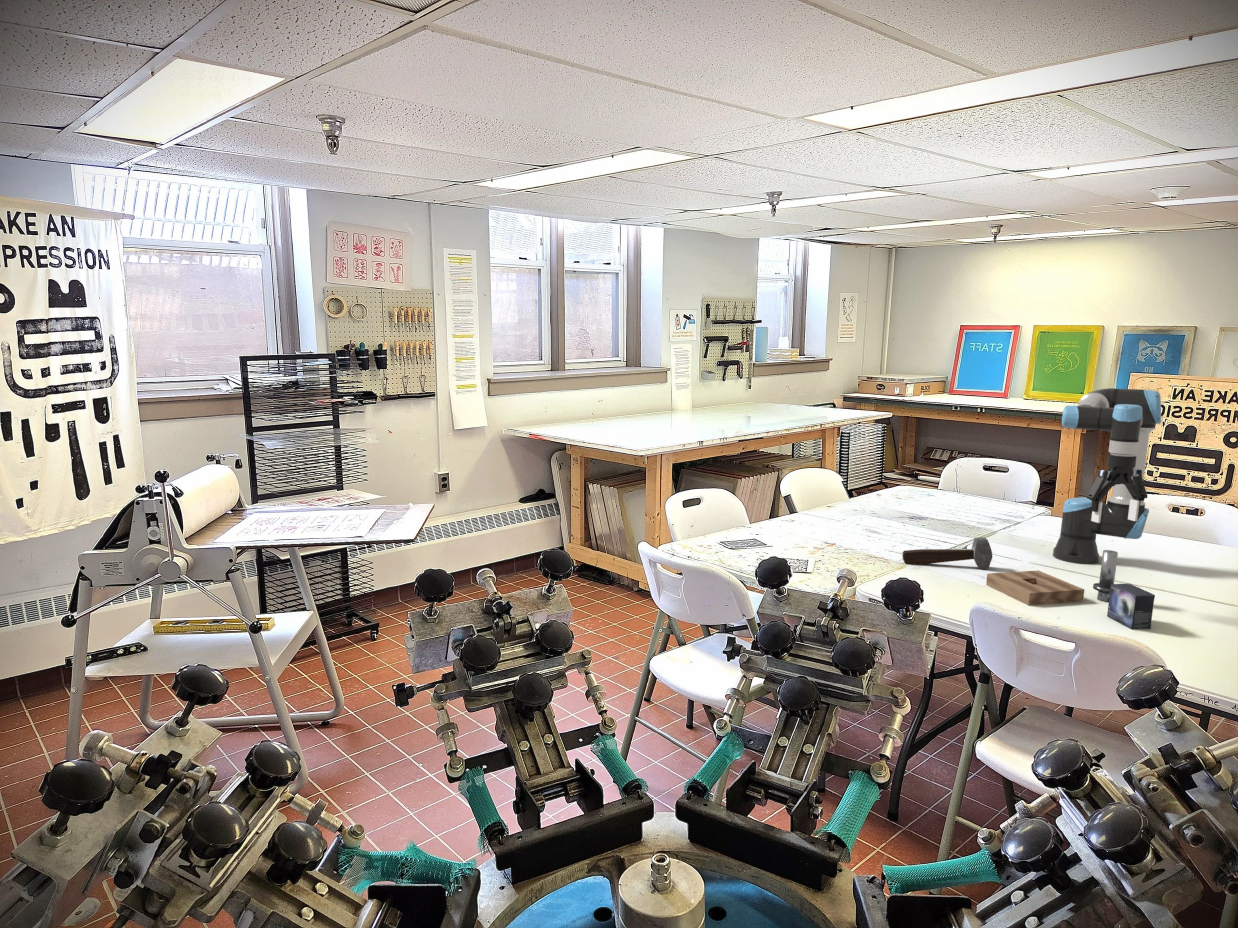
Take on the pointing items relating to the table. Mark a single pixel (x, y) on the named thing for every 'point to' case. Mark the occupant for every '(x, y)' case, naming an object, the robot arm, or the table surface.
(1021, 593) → the socket plate
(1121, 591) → the small box
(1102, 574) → the steel peg
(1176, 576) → the table surface
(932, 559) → the hammer
